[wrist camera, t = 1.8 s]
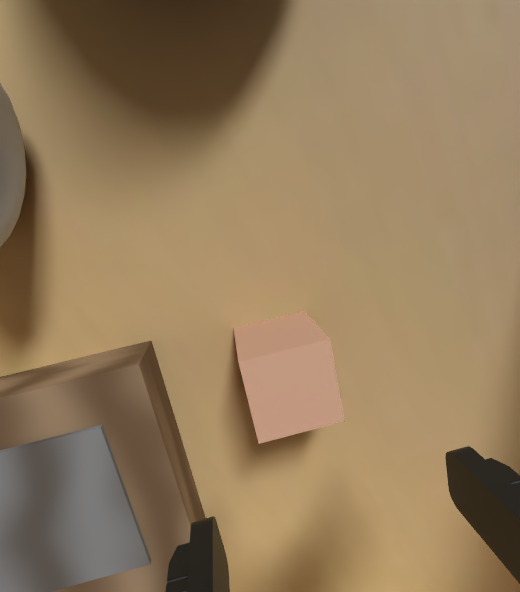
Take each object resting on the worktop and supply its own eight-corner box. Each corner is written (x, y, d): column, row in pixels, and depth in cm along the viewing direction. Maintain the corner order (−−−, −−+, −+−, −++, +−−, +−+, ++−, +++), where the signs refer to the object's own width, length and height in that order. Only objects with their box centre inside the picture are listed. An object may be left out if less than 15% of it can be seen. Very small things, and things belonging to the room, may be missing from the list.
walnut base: (151, 340, 25) (137, 366, 20) (209, 531, 28) (208, 587, 24) (-97, 400, 24) (-164, 440, 19) (-2, 590, 27) (-41, 658, 23)
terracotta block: (304, 310, 25) (330, 339, 20) (316, 375, 27) (344, 421, 21) (233, 327, 25) (238, 362, 19) (249, 392, 26) (258, 443, 20)
